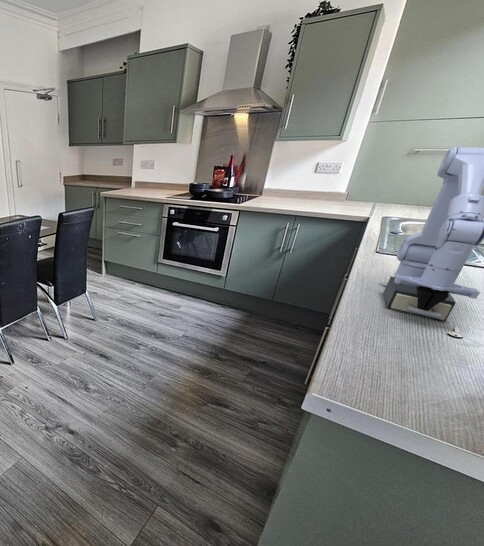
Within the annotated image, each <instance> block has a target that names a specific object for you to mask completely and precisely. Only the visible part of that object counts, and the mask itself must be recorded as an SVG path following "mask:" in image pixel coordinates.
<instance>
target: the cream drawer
mask: <svg viewBox="0 0 484 546" xmlns="http://www.w3.org/2000/svg"><path fill="white" fill-rule="evenodd" d="M417 304H418V297H414V296H410V295H405V294H400V293H397V294H396V296H395V299H394V301H393V303H392V305H391V308H393V309H398V310H402V311H406V312H410V313H415V314H420V315H424V316H428V317H432V318H436V319H440V320H445V318H446V316H447V315H448V313H449V311H450V309H451V307H452V306H451V305H450V304H445V303H443V302H440V303H438V304H437V305H435V306H434V307H432V308H431V309H430V310H429V311H426V310H422V309H417Z"/></svg>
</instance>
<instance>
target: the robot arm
mask: <svg viewBox="0 0 484 546" xmlns="http://www.w3.org/2000/svg"><path fill="white" fill-rule="evenodd" d="M436 176H437V177H439V178H441V179H443V181H442V186H441V188H440V190H439V193H438V195H437V197H436V198H435V201H434V204H433V206H432V208H431V210H430V212H429V214H428V217H427V218H426V221H425V222H424V225H423V227H422V229H421V231H420V232H418V233H415V234H412V235H408V236H406V238H404V239H403V242H402V243H401V245H400V246H399V248H398V250H397V254H396V259H397V261H399V264H398V267H397V269H396V271H395V273H394V275H393V277H396V278H395V280H394V282H395V283H398V284H400V283H401V284H407V285H412V286H416V289H417V296H418V304H417V309H422V310H426V311H429V310H430V309H431V308H432V307H434V306H435V305H437V304H438V303H440V302H442V301H443V300H445V299H447V298H448V296H449V295H448V293H450V294H453V295H458V296H463V297H468V298H469V299H473V300H476V299H477V298H478V296H479V294H480V293H481V292H480V291H479V289H478V288H472V287H468V286H464V285H460V284H457V283H456V284H455V282H456V281H457V279H458V277H459V275H460V273H461V272H462V270H463V269H464V266H465V264H466V262H467V260H468V259H469V257H470V255H471V254H472V252H473V250H474V248H475V247H478V246H479V245H480V244H481V243H482V242H483V241H484V195H483V194H482V192H483V189H484V147H468V146H467V147H464V146H463V147H462V146H461V147H459V146H452V147H451V148H449V149H448V150H447V151H446V153H445V155H444V157H443V159H442V161H441V163H440V166H439V168H438V170H437V174H436ZM387 284H388V282H382V285H383V286H385V287H386V286H387ZM419 315H420V314H419ZM423 316H424V315H423Z"/></svg>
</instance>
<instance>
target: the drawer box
mask: <svg viewBox="0 0 484 546" xmlns="http://www.w3.org/2000/svg"><path fill="white" fill-rule="evenodd" d="M395 278H396V277H394V276H390V277H389V279H388V282H387V283H388V284H387V286H385V288H384V289H383V293H382V295H383V299H384V302H385V303H384V304H385V307H386V309H387V310H392V311H396V312H400V313H404V314H408V315H413V316H415V317H416V316H417V317H420V318H425V319H429V320H433V321H438V322H441V323H442V322H443V323H446V321H447V319H448V318H449V316H450V314H451V312H452V310H453V309H454V307H455V305H456V303H457V302H456V300H455V298H454V297H453V296H452V295H451V293H448V295H449V296H448V298H447V299H445V300H443V301H442V302H443V303H445V304H450V305H451V306H452V307H451V309H450V311H449V313H448V315H447V316H446V318H445V320H440V319H436V318H432V317H428V316H423V315H419V314H415V313H410V312H406V311H402V310H398V309H393V308H391V305H392V303H393V301H394V299H395V296H396V294H397V293H400V294H405V295H410V296H414V297H418V296H417V289H416V286H412V285H407V284H401V283H400V284H398V283H395V282H394V280H395Z"/></svg>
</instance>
